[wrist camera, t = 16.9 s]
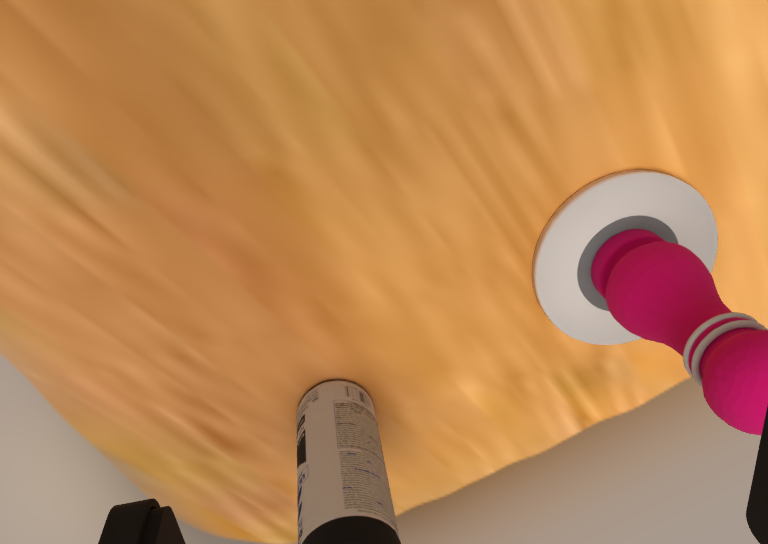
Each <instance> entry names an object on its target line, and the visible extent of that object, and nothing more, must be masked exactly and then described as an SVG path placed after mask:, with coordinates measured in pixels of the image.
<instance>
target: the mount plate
mask: <svg viewBox="0 0 768 544" xmlns="http://www.w3.org/2000/svg"><path fill="white" fill-rule="evenodd" d="M630 229H645V230H649V231H651V232H653V233H655V234H657V235H658V236H659V237H661V238H662V239H663V240H665V241H666V242H671V243H677V244H679V245H682V246H684V247H686V248H688V249H689V250H691V251H692V252H693V253H694V254H695V255H696V256H697V257H699V258H700V259H701V261H702V262H703V263H704V264H705V266H706V267H707V269H708V270H709V272H710V274H711V271H712V268H713V265H714V262H715V258H716V253H717V245H718V234H717V226H716V222H715V218H714V215H713V213H712V210H711V208H710V207H709V205H708V203H707V202H706V200H705V199H704V198H703V197H702V196H701V194H700V193H699V192H698V191H696V190H695V189H694V188H693V187H691V186H690V185H688V184H686V183H685V182H683V181H681V180H679V179H677V178H675V177H674V176H671V175H669V174H666V173H663V172H659V171H654V170H643V169H636V170H626V171H621V172H617V173H613V174H610V175H607V176H604V177H601V178H599V179H597V180H595V181H593V182H591V183H589V184H588V185H586V186H584V187H583V188H581V189H580V190H578V191H577V192H576V193H574V194H573V195H572V196H571V197H569V198H568V199H567V200H566V201H565V202H564V203H563V204H562V205H561V206H560V207H559V208H558V209H557V211H556V212H555V213H554V214H553V216H552V217H551V218H550V220H549V221H548V223H547V224H546V226H545V228H544V229H543V231H542V234H541V236H540V238H539V240H538V243H537V246H536V249H535V252H534V257H533V262H532V283H533V288H534V292H535V295H536V298H537V300H538V302H539V304H540V306H541V308H542V309H543V311H544V312H545V314H546V315H547V316H548V318H549V319H550V320H551V321H552V322H553V324H554V325H555V326H556V327H557V328H559V329H560V330H561V331H562V332H564V333H565V334H567V335H569V336H570V337H572V338H575V339H577V340H579V341H583V342H586V343H590V344H598V345H614V344H623V343H627V342H631V341H635V340H638V339H641V337H639V336H637V335H635V334H633V333H631V332H629V331H628V330H626V329H625V328H624V327H623V326H621V325H620V324H619V323H618V322H617V321H616V320H615V319H614V318H613V316H612V315H611V313H610V311H609V309H608V306H607V302H606V299H605V298H604V297H603V296H602V295H601V294H600V293H599V292H598V291H597V290H596V288H595V287H594V284H593V282H592V278H591V268H592V263H593V260H594V257H595V255H596V253H597V251H598V250H599V249H600V248H601V246H602V245H603V244H604V243H605V242H606V241H607V240H608V239H610V238H611V237H612V236H614V235H616V234H618V233H621V232H623V231H626V230H630Z"/></svg>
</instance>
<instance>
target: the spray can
mask: <svg viewBox="0 0 768 544" xmlns="http://www.w3.org/2000/svg"><path fill="white" fill-rule="evenodd" d="M297 479H298V544H401V542H400V540H399V535H398V530H397V524H396V519H395V514H394V508H393V503H392V498H391V493H390V488H389V482H388V477H387V472H386V467H385V462H384V457H383V451H382V446H381V441H380V436H379V431H378V425H377V420H376V415H375V410H374V406H373V403H372V400H371V398H370V397H369V395H368V394H367V393H366V392H365V390H364V389H362V388H361V387H360V386H358V385H357V384H355V383H353V382H347V381H340V380H336V381H328V382H323V383H321V384H319V385H317V386H315V387H314V388H312V389H311V390H310V391H309V392H308V393H307V394H306V395H305V396H304V397H303V399H302V400H301V402H300V405H299V408H298V411H297Z"/></svg>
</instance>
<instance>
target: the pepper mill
mask: <svg viewBox="0 0 768 544" xmlns="http://www.w3.org/2000/svg"><path fill="white" fill-rule="evenodd" d="M591 278H592V282H593V284H594V287H595V288H596V290H597V291H598V292H599V293H600V294H601V295H602V296H603V297H604V298H605V299H606V302H607V306H608V309H609V311H610V313H611V315H612V316H613V318H614V319H615V320H616V321H617V322H618V323H619V324H620V325H621V326H623V327H624V328H625V329H626V330H628V331H629V332H631V333H633V334H635V335H637V336H639V337H641V338H644V339H647V340H651V341H655V342H660V343H663V344H666V345H668V346H669V347H671V348H673V349H674V350H675V351H677V352H678V353H679V354H681V355H682V356H683V363H684V366H685V368H686V370H687V372H688V373H689V375H691V376H692V377H693V378H694V379H695V380H696V381H697V382H698V384H699V385H701V386H702V387H703V393H704V397H705V399H706V401H707V403H708V405H709V406H710V408H711V409H712V410H713V411H714V413H715V414H716V415H717V416H718V417H720V418H721V419H722V420H724V421H725V422H726V423H727V424H728V425H730V426H732V427H734V428H736V429H738V430H740V431H743V432H746V433H749V434H756V435H762V430H763V426H764V421H765V416H766V411H767V406H768V330H767V329H766V328H765V327H764V326H763V325H761V324H760V323H758V322H757V321H756V320H755V319H754V318H752V317H751V316H749V315H746V314H743V313H736V312H731V311H730V310H729V309H728V308H727V307H726V306H725V305H724V304H723V302H722V301H721V299H720V297H719V295H718V293H717V290H716V287H715V284H714V281H713V278H712V275H711V274H710V272H709V270H708V269H707V267H706V266H705V264H704V263H703V262H702V261H701V259H700V258H699V257H697V256H696V255H695V254H694V253H693V252H692V251H691V250H689V249H688V248H686V247H684V246H682V245H679V244H677V243H671V242H666V241H665V240H663V239H662V238H661V237H659V236H658V235H657V234H655V233H653V232H651V231H649V230H645V229H630V230H626V231H623V232H621V233H618V234H616V235H614V236H612V237H611V238H610V239H608V240H607V241H606V242H605V243H604V244H603V245H602V246H601V248H600V249H599V250H598V251H597V253H596V255H595V257H594V260H593V263H592V268H591Z"/></svg>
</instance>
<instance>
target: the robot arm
mask: <svg viewBox="0 0 768 544" xmlns="http://www.w3.org/2000/svg"><path fill="white" fill-rule="evenodd" d="M746 518H747V522H748V525H749V528H750V529H751V532H752V534H753V535H754V536H755V538H756V539H757V540H758V542H759V543H760V544H768V406H767V411H766V416H765V421H764V426H763V430H762V435H761V440H760V445H759V450H758V455H757V460H756V466H755V470H754V476H753V481H752V485H751V490H750V495H749V500H748V506H747V511H746ZM98 544H185V541H184V539H183V536H182V534H181V531H180V528H179V526H178V523H177V521H176V518H175V515H174V513H173V511H172V509H171V507H169V506H166V507H161V508H160V505H159V503H158V502H157V501H156V500H155V499H148V500H143V501H138V502H133V503H127V504H121V505H116V506H114V507H113V508H112V509H111V510H110V512H109V514H108V517H107V520H106V523H105V525H104V528H103V531H102V534H101V537H100V540H99V543H98Z"/></svg>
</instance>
